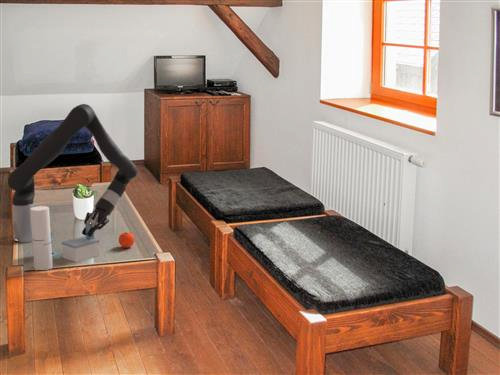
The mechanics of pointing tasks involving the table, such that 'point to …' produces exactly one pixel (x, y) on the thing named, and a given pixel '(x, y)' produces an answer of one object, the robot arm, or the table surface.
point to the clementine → (126, 239)
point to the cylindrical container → (41, 238)
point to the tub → (81, 252)
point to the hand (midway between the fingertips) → (86, 235)
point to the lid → (81, 240)
